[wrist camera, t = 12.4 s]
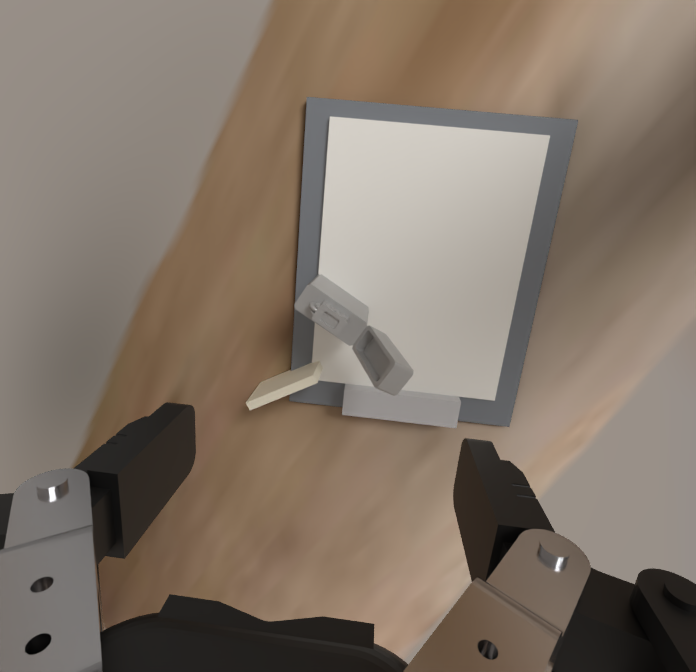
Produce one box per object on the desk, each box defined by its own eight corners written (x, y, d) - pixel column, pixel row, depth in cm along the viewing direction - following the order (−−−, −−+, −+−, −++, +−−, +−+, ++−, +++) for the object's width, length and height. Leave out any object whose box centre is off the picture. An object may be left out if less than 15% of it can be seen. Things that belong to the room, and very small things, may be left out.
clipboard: (574, 121, 25) (588, 115, 23) (507, 423, 30) (514, 435, 29) (308, 99, 26) (303, 91, 24) (290, 398, 31) (285, 408, 30)
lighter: (305, 294, 28) (277, 323, 20) (319, 272, 28) (296, 294, 20) (390, 352, 29) (395, 402, 21) (405, 333, 28) (415, 376, 21)
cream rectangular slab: (320, 356, 30) (313, 375, 27) (324, 364, 30) (317, 382, 27) (260, 381, 31) (245, 402, 28) (264, 389, 31) (249, 410, 28)
